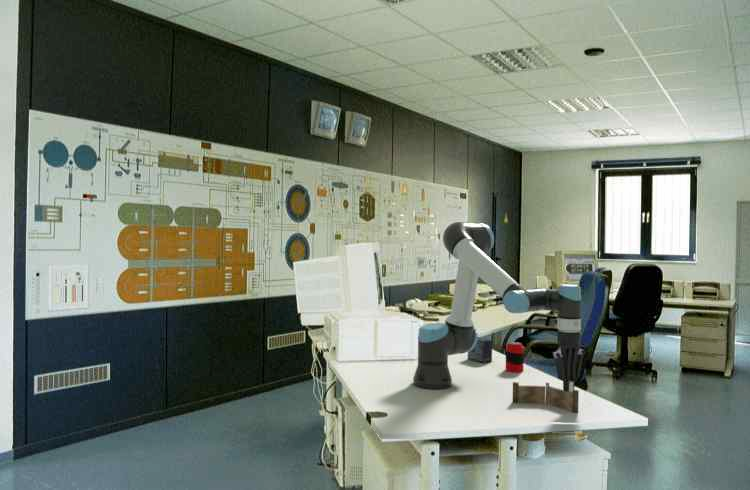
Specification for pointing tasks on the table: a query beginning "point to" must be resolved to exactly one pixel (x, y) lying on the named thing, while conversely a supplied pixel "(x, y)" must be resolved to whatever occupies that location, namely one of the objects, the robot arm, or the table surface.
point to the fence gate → (562, 398)
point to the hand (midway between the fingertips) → (568, 400)
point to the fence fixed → (528, 393)
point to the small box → (481, 351)
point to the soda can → (514, 357)
